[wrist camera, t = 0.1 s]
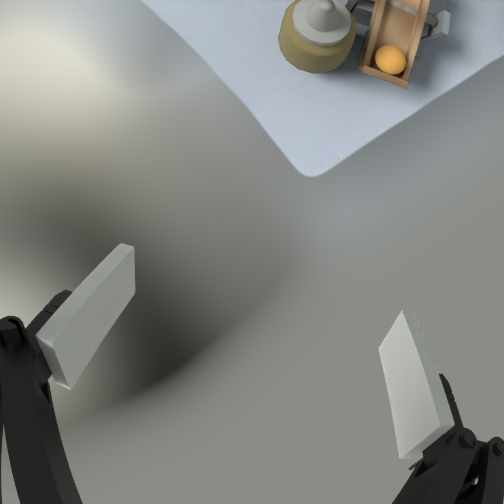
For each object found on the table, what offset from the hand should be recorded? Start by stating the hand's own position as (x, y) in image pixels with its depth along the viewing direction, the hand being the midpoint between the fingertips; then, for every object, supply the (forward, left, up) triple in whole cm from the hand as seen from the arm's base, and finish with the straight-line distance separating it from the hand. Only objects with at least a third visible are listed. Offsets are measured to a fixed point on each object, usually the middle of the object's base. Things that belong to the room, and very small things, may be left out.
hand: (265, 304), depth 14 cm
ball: (-16, +8, -20) cm, 27 cm away
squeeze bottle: (-17, 0, -28) cm, 33 cm away
